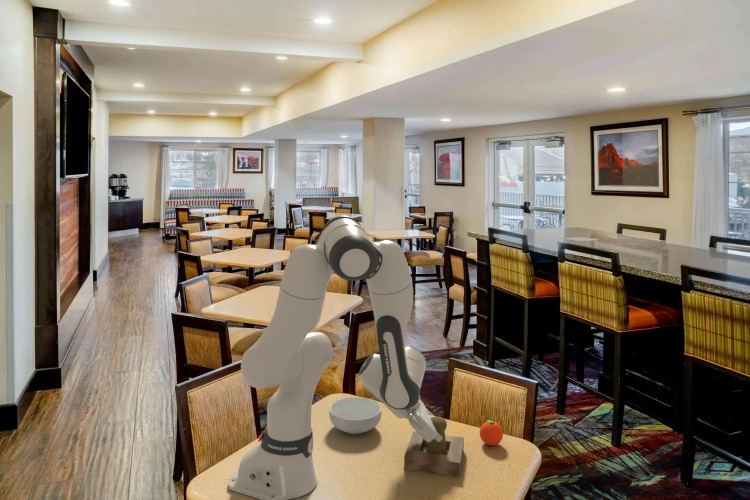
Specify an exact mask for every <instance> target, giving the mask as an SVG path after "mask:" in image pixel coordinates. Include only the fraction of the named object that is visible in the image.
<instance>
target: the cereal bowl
mask: <svg viewBox="0 0 750 500" xmlns="http://www.w3.org/2000/svg"><path fill="white" fill-rule="evenodd" d="M382 413H383V412H382V405H381V404H380V403H379V402H378V401H376V400H374V399H372V398H367V397H360V396H359V397H356V396H355V397H353V396H352V397H345V398H340V399H337V400H336V401H334V402H332V403H331V404H330V405H329V408H328V415H329V421H330V422H331V424H332V425H333V426H334V427H335V428H336V429H338V430H339V431H341V432H343V433H344V432H345V433H347V434H351V435H359V434H363V433H366V432H368V431H371V430H372V429H374V428H376V427H377V426H378V424H379V423H380V422H381V419H382Z"/></svg>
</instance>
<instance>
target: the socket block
mask: <svg viewBox="0 0 750 500" xmlns="http://www.w3.org/2000/svg"><path fill="white" fill-rule="evenodd" d="M445 440H446V450H449V453H448V455H445V454H437V453H429V452H423V448H424V447H426V448H427V444H428V442H426V441H425V440H424V439H423V438H422V437H421V436H420V435H419V434H418V433H417V432H416V431H415V430H414V431H413V432H412V434H411V436H410V440H409V442H408V445H407V448H406V451H405V452H404V459H403V460H404V461H403V463H404V464H403V470H407V471H413V472H420V473H425V474H426V473H427V474H433V475H434V474H435V475H442V476H449V477H455V478H460V475H461V470H462V461H463V454H464V447H465V446H464V442H465V438H464V436H463V437H462V436H456V435H455V436H453V435H446V434H445Z"/></svg>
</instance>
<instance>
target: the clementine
mask: <svg viewBox="0 0 750 500" xmlns="http://www.w3.org/2000/svg"><path fill="white" fill-rule="evenodd" d="M479 436H480V439H481V441H482V442H483V443H484V444H486V445H487V446H490V447H491V446H496V445H499V443H501V442H502V440H503V437H504V431H503V429H502V427H501V425H500V424H499V423H498V422H496V421H493V420H491V419H486V420H484V423H483V424H481V425H480V429H479Z"/></svg>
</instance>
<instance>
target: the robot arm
mask: <svg viewBox="0 0 750 500" xmlns="http://www.w3.org/2000/svg"><path fill="white" fill-rule="evenodd" d="M313 242H314V244H310V243H308V244H306V243H305V244H300V245H297V246H296V247H294V248H293V249H292V250H291V252H290V253H289V256H288V259H287V262H286V265H285V267H284V269H283V273H282V277H281V281H280V287H279V292H278V296H277V301H276V304H275V305H276V306H275V309H274V312H273V315H272V317H271V319H270V321H269V323H268V325H267V326H266V328H265V330H264V331H263V332H262V334H261V335H260V337H259V338H258V339H257V341H255V342H254V344H252V345H251V346H250V347H249V348H248V349H247V350H244V353H243V355H242V357H241V362H240V371H241V374H242V377H243V378H244V380H245V382H246V383H247V384H248V385H249V386H251V387H252V388H255V389H261V388H263V389H264V388H273V387H276V386H277V387H278V386H279V387H278V389H277V390H276V391H275V392H274V393H273V394H272V396H271V397H270V398H269V400H268V401H267V406H266V413H267V416H266V417H267V418H266V419H267V421H266V422H267V423H266V424H267V425H265V427H264V430H262V431H261V432H260V435H259V436H258V438H257V439H258V440H257V443H259V444H257V445H256V446H254V447H252V448H251V449H249V451H247V452H246V453H245V454H244V456H243V457H242V458H241V459H240V460H241V461H240V462H239V466H238V468H237V469H236V470H235V471H234V472H233V474H232V475H231V476H230V478H229V481H228V490H230V491H232V492H236V493H238V494H242V495H245V496H248V497H252V498H253V499H254V498H255V499H259V500H291V499H296V498H299V497H302V496H305V495H307V494H309V493H311V492H312V491H313V490H314V489H315V487H316V486H317V484H318V477H317V476H316V471H315V466H314V460H313V449H314V436H313V428H312V408H313V407H312V406H313V400H314V395H315V392H316V388H317V386H318V383H319V381H320V379H321V377H322V375H323V373H324V372H325V370H326V369H327V368H328V366H329V365H330V364H331V362H332V361H333V357H334V348H333V344H332V341H331V340H330V338H329V337H328V335H327V334H325V333H323V332H321V331H314V329H316V328H317V326H318V325H319V323H320V321H321V317H322V313H323V308H324V303H325V299H326V296H327V295H326V294H327V290H328V283H329V282H330V279H331V278H332V276H333V275H334V274H336V275H337V276H338V277H339V278H341V279H342V280H346V281H351V282H352V281H353V282H354V281H355V282H356V281H359V280H360V281H361V280H366V285H367V289H368V294H369V298H370V303H371V308H372V312H373V318H374V324H375V329H376V334H377V335H376V336H377V345H378V351H379V353H372V354H370V355H368V356H367V357H366V359H365V361H363V363H362V364H361V366H360V369H359V372H358V378H359V379H360V382H361V383H362V384H363V386H364V387H365V388H367V390H368V391H369V392H370V393H371V394H372V395H373V396H374V397H376V398H377V399H379V400H381V401H382V403H383V404H384V406H385V408H387V409H388V410H389V411H390V412H391V413H392V414H393V415H394V416H395V417H396V418H398V419H406V420H407V419H408V423H409V425H410V426H411V427H412V428H413V429H414V432H417V433H418V434H419V435H420V436H421V437H422V438H423V439H424V440H425V441H426V442H428V443H430V442H431V441H432V440H433V439H435V440H436V441H437V442H440V441H441V440H442V439H443V437H442V435H441V434H440V433H439V432H437V431H436V429H435V427H434V425H433V422H432V420H431V418H432V417H431V416H430V414H429V412H428V409H427V408H426V405H425V403H424V402H423V400H422V399H421V395H420V393H421V387H422V384H423V380H424V376H425V375H424V374H425V371H426V369H427V368H426V366H427V360H426V356H425V355H424V354H423V353H422V352H421V351H420V350H419V349H417V348H415V347H413V346H406V345H405V339H406V338H405V337H406V332H407V326H408V323H409V321H410V320H409V319H410V317H411V313H412V309H413V305H414V287H413V286H414V285H413V279H412V276H411V271H410V267H409V264H408V261H407V257H406V256H405V253H404V251H403V248H402V247H401V245H400V244H399V243H397V242H395V241H392V240H387V239H386V240H381V241H372V240H371V239H370V237H369V234H368V233H367V231H366V230H365V229H364V228H363V227H362V225H361V223H359V221H357V220H356V219H355V218H353V217H351V216H348V215H338V216H334V217H332V218H331V219H329V220H328V221H327V222H326V223H325V224H324V226H323V227H322V229H321V230H320V231H319V232H318V234H317V235H315V237H314V240H313Z"/></svg>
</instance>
